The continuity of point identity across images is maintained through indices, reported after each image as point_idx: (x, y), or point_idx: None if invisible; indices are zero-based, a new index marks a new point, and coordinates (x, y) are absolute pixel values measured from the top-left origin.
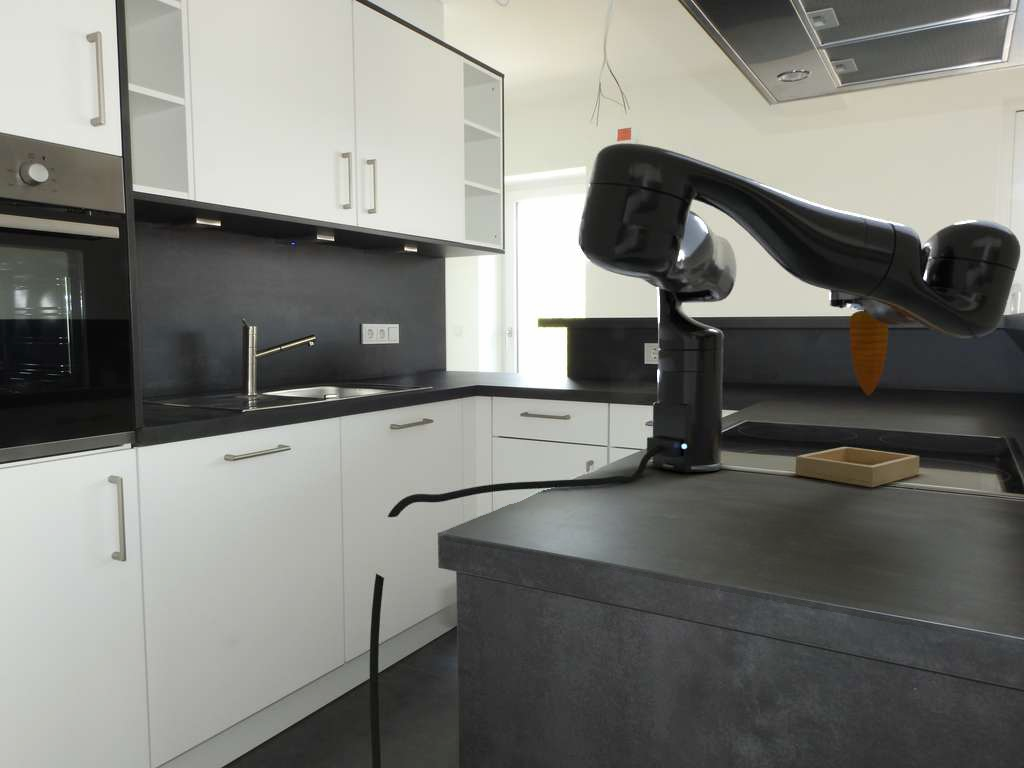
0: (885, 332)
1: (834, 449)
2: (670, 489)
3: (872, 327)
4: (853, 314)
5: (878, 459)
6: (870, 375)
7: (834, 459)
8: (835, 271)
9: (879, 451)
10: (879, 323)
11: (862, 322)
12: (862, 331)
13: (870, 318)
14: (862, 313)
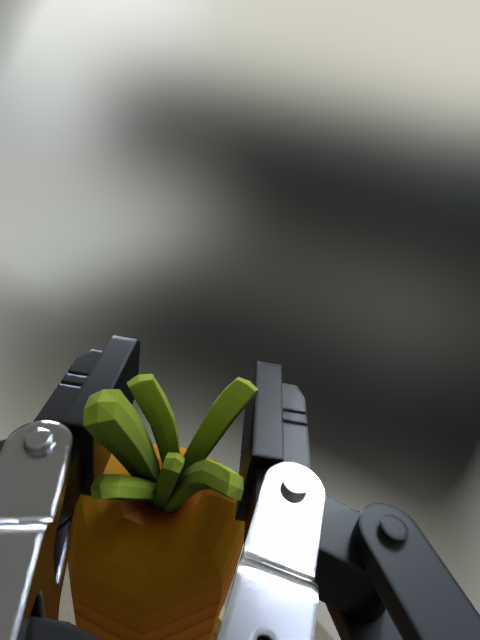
0: (199, 632)
1: None
2: None
3: (124, 637)
4: (76, 503)
5: (215, 625)
6: None
7: None
8: None
9: (220, 613)
10: (163, 627)
11: (80, 601)
12: (83, 624)
13: (117, 604)
14: (89, 555)
